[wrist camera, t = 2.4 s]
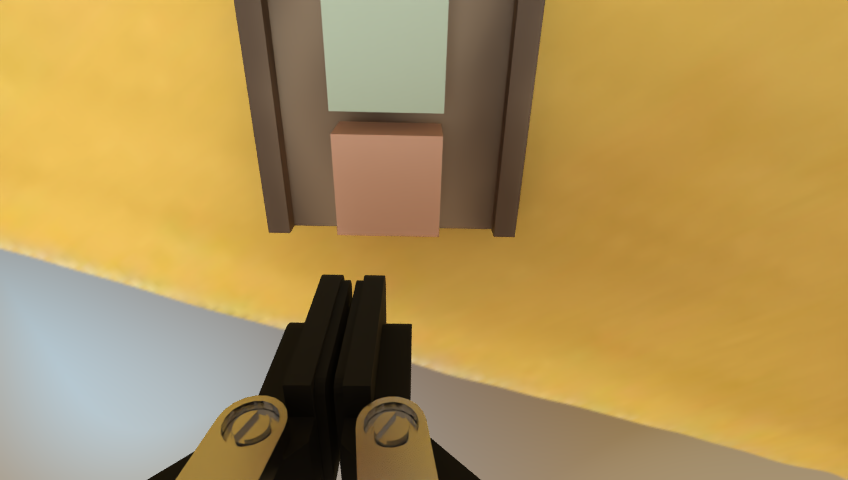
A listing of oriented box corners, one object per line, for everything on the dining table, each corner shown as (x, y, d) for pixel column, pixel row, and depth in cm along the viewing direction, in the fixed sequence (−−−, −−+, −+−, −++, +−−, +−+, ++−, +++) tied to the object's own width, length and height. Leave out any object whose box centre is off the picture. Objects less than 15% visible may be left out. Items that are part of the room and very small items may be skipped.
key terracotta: (440, 123, 22) (442, 136, 20) (437, 215, 25) (438, 236, 22) (339, 121, 22) (330, 134, 20) (345, 214, 25) (337, 234, 22)
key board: (560, -220, 19) (576, -246, 17) (508, 220, 28) (514, 237, 26) (218, -231, 18) (194, -259, 17) (279, 216, 28) (268, 232, 26)
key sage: (446, -17, 20) (449, -19, 17) (441, 102, 22) (444, 113, 20) (330, -19, 20) (318, -23, 17) (338, 100, 22) (328, 111, 20)
